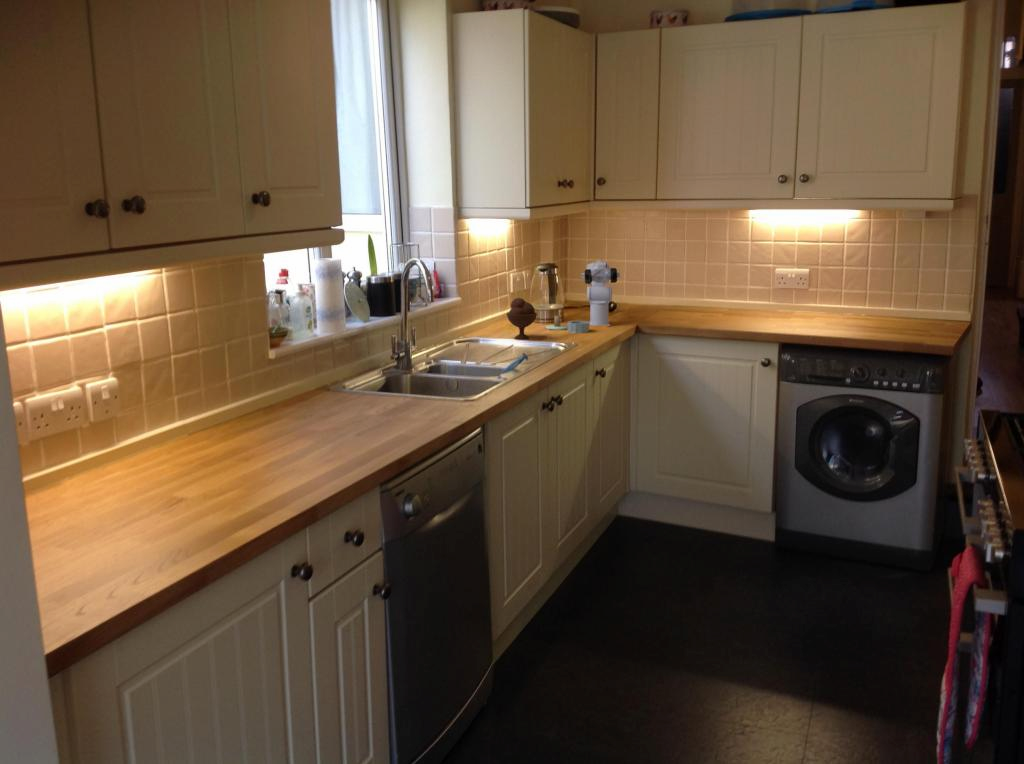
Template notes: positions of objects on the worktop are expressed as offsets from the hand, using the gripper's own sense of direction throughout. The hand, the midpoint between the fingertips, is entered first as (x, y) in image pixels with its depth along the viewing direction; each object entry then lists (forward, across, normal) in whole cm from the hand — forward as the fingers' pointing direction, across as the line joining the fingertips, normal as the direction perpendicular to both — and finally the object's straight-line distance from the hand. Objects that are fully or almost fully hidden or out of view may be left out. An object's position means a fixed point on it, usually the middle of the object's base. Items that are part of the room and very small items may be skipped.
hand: (601, 278), depth 363 cm
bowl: (0, -9, +20) cm, 22 cm away
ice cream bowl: (+14, -30, +19) cm, 38 cm away
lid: (-7, -18, +20) cm, 27 cm away
